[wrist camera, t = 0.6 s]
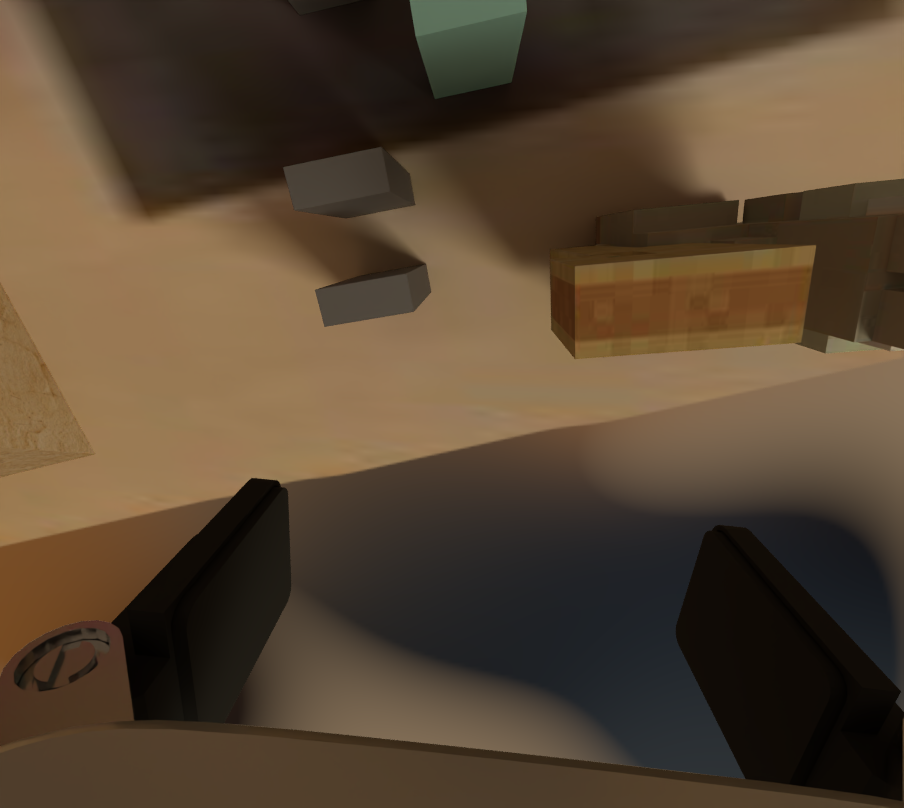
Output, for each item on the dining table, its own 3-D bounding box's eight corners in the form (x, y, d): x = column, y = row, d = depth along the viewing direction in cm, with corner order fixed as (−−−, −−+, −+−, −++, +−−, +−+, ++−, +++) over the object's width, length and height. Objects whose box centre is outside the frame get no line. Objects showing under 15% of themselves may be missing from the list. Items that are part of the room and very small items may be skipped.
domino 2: (425, 264, 34) (406, 273, 25) (431, 292, 35) (413, 311, 25) (359, 276, 35) (314, 289, 25) (365, 303, 35) (324, 326, 26)
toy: (763, 298, 34) (1128, 373, 15) (522, 317, 35) (575, 409, 16) (775, 200, 31) (1220, 141, 13) (518, 224, 33) (574, 204, 14)
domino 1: (409, 173, 32) (381, 146, 23) (415, 205, 33) (390, 191, 23) (339, 187, 33) (282, 167, 23) (346, 218, 33) (294, 210, 24)
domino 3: (507, 45, 29) (521, -46, 20) (511, 82, 30) (527, 10, 21) (428, 63, 30) (406, -18, 20) (434, 99, 31) (415, 36, 21)
